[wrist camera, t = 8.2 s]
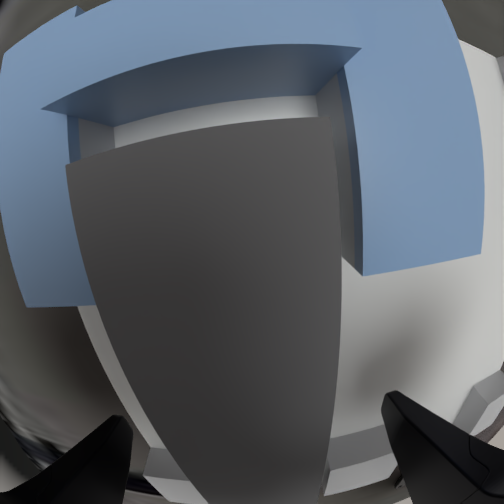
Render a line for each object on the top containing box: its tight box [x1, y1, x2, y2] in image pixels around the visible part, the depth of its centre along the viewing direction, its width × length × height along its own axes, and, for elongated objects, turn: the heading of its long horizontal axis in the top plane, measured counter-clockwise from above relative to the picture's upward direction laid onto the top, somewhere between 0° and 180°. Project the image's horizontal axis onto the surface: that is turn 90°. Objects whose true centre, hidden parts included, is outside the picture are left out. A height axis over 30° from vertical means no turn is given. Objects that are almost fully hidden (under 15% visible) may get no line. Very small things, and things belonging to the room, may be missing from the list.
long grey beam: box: [65, 117, 342, 504], centre depth 7 cm, size 16×4×4 cm, turn 7°
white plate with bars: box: [0, 0, 504, 504], centre depth 8 cm, size 22×22×4 cm
